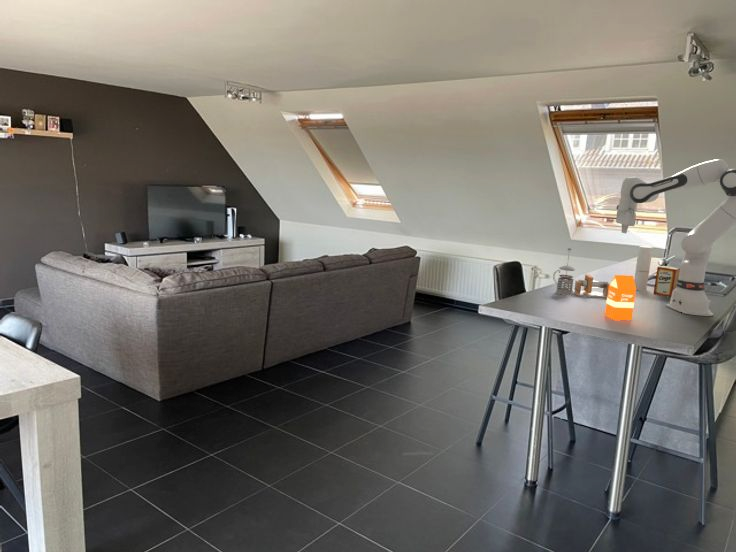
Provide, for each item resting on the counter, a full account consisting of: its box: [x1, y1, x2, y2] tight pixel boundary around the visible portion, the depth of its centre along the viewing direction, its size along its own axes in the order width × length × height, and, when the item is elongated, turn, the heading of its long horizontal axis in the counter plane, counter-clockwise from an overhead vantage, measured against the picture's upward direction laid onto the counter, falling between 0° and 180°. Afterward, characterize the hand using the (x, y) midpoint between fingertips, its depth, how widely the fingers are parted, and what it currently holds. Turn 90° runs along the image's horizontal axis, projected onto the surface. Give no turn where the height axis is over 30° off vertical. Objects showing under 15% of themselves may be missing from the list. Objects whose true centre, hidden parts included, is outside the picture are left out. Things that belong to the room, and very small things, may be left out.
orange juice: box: [604, 274, 637, 321], centre depth 246 cm, size 8×9×20 cm
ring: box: [582, 274, 594, 293], centre depth 295 cm, size 9×2×9 cm, turn 172°
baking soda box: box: [653, 265, 680, 298], centre depth 304 cm, size 10×6×16 cm
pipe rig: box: [572, 279, 610, 299], centre depth 295 cm, size 11×19×8 cm, turn 82°
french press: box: [552, 247, 576, 296], centre depth 294 cm, size 10×12×25 cm
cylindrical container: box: [634, 245, 654, 291], centre depth 317 cm, size 7×7×25 cm
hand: (623, 233), depth 294 cm, fingers closed
